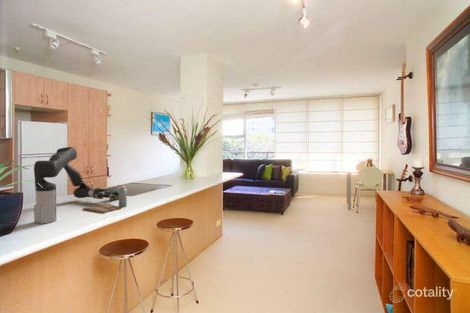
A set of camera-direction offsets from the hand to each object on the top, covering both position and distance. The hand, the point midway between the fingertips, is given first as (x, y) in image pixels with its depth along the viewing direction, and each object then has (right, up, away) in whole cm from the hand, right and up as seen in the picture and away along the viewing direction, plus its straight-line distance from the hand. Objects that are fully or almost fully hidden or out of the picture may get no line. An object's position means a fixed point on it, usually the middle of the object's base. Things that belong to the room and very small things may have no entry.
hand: (113, 195), depth 192 cm
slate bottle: (+7, -7, -3) cm, 11 cm away
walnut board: (-2, -8, -12) cm, 14 cm away
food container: (-6, -6, +19) cm, 21 cm away
